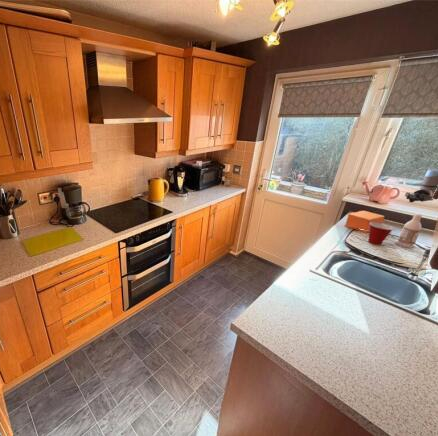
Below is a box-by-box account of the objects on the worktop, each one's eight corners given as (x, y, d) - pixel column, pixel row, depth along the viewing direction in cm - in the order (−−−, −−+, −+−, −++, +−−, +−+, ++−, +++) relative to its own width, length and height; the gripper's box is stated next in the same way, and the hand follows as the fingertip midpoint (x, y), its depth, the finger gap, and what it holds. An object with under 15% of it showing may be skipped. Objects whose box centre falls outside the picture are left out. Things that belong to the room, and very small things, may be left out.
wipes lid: (369, 220, 153) (369, 219, 153) (348, 214, 164) (348, 213, 164) (384, 217, 159) (385, 216, 159) (363, 211, 170) (363, 210, 170)
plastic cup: (392, 246, 138) (399, 228, 134) (377, 247, 137) (384, 229, 132) (372, 238, 148) (379, 221, 144) (358, 239, 147) (364, 222, 142)
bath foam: (407, 248, 135) (421, 217, 128) (393, 243, 142) (406, 213, 134) (416, 247, 137) (430, 216, 129) (402, 242, 143) (415, 212, 136)
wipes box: (365, 232, 157) (369, 220, 153) (345, 225, 168) (348, 214, 164) (380, 228, 162) (384, 217, 159) (359, 222, 173) (363, 211, 170)
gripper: (434, 202, 150) (424, 208, 139) (406, 197, 161) (394, 203, 150) (439, 191, 148) (429, 196, 136) (410, 187, 158) (399, 192, 147)
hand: (411, 200), depth 143 cm, fingers closed
